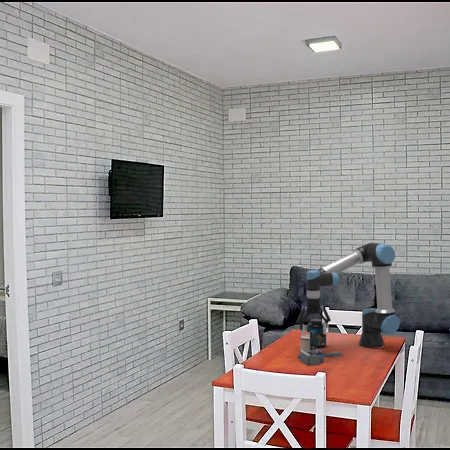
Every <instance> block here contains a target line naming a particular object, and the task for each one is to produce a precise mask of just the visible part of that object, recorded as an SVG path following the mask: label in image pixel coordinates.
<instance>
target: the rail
mask: <svg viewBox="0 0 450 450" xmlns="http://www.w3.org/2000/svg"><path fill="white" fill-rule="evenodd" d="M322 354H323V355H324V358H335V357H336V358H337V357H338V358H339V357H343V352H342V351H339V352H337V351H336V352H322ZM296 358H297V360H300V354H297V357H296Z"/></svg>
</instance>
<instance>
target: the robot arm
mask: <svg viewBox="0 0 450 450" xmlns="http://www.w3.org/2000/svg"><path fill="white" fill-rule="evenodd" d="M395 258H396V252H395V249H394V248H393V246H391V245H390V244H387V243H382V242H368V243H365V244H363V245H361V246H359V247H357V248H355V249H353V251H352V252H351V253H348V254H346V255H344V256H343V257H341V258H339V259H337V260H334V261H333V262H331V263H329V264H326V265H324V266H323V267H321V268H318V269H316V270H315V269H312V270H307V271H306V274H305V275H306V276H305V278H306V306H303V305H302V306H301V310H300V312H299V314H298V317H297V320H296V324H299V330H300V332H301V333H300V334H301V336H304V335H305V324H304V323H305V321H306V320H307V319H308V317H309V316H311V315H318V316H319V317H320V318H321V320H323V333H324V334H326V335H327V329H328V328H329V327H328V326H329V322H331V321H332V320H331V317H330V316H329V315H330V314H329V313H328V311H327V308H326V305H324V304H322V305H321V298H320V297H321V287H333V286H337V285H338V284H339V281H340V277H339V275H338V274H340V273H342V272H344V271H346V270H348V269H349V268H352V267H354V266H356V265H358V264H359V265H362V264H364V263H369V262H370V263H371V267H372V268H373V269H374V275H375V276H374V277H375V279H374V280H375V291H376V293H375V294H376V304H377V305H376V307H377V308H364V309H363V310H362V314H361V324H362V325H361V326H362V327H361V335H360V338H359V340H358V345H359V346H360V347H362V346H363V347H362V348H366V347H382V346H384V347H385V342H384V338H383V335H382V334H386V335H393V334H395V333H396V332H397V330H398V329H400V328H399V327H400V325H401V322H400V318H399V317H398V316H397V315H396V311H395V309H394V308H393V302H392V300H393V299H392V286H391V270H390V268H391V267H392V266H393V262H394V260H395ZM320 310H322V312H321V311H320ZM305 311H306V312H305ZM382 348H383V347H382Z"/></svg>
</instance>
